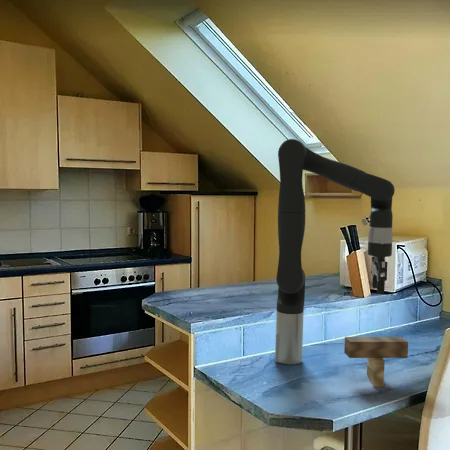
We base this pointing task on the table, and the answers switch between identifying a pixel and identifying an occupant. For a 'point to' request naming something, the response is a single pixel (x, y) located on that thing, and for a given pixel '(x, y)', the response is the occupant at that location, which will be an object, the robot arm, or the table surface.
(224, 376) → the table surface
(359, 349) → the batten
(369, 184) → the robot arm
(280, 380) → the table surface
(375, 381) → the fulcrum
